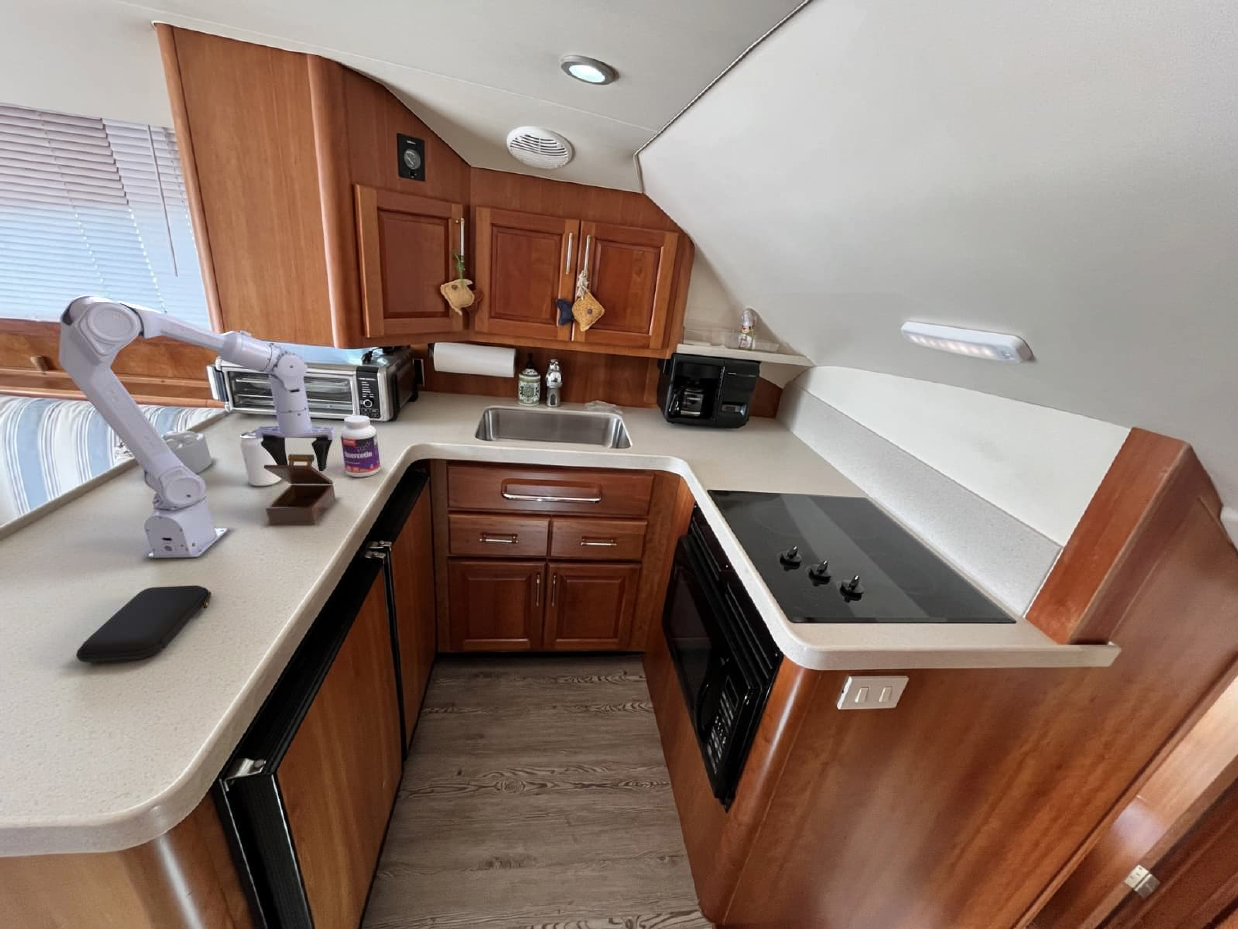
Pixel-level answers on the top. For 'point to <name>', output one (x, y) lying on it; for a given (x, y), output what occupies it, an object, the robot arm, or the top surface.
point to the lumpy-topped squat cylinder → (189, 449)
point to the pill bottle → (360, 447)
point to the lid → (299, 471)
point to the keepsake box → (301, 504)
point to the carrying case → (144, 624)
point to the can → (257, 460)
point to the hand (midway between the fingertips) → (303, 469)
